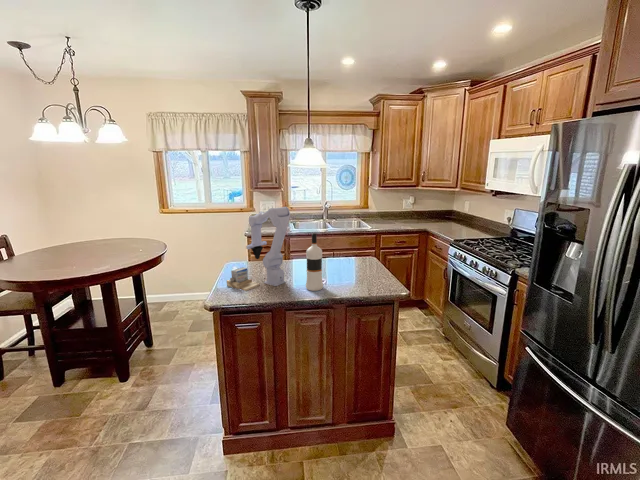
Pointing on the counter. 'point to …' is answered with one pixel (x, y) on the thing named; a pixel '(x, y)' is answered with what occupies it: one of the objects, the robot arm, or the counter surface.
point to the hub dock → (242, 284)
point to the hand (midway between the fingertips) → (257, 258)
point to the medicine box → (240, 274)
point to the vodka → (314, 266)
